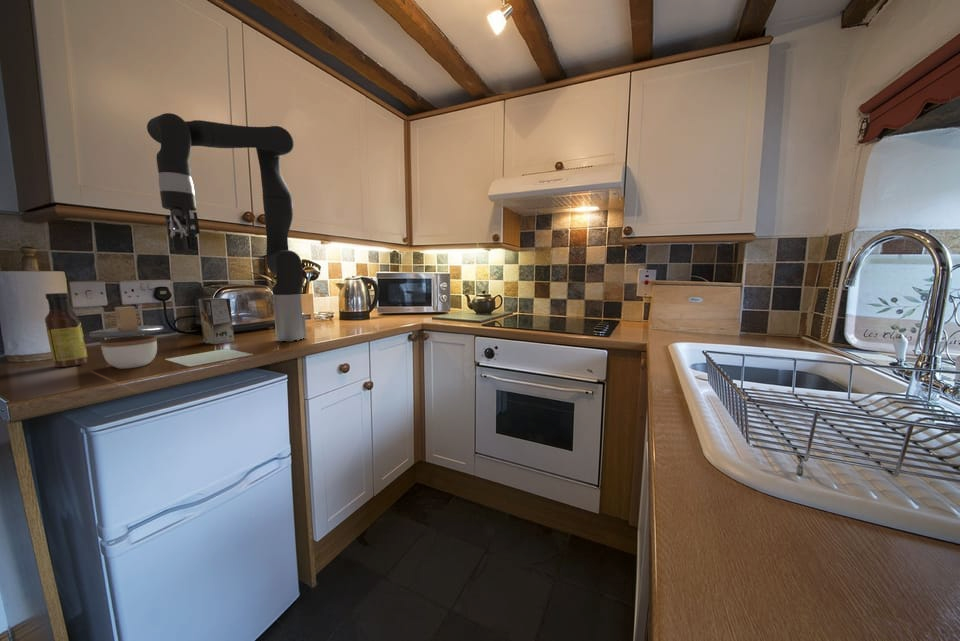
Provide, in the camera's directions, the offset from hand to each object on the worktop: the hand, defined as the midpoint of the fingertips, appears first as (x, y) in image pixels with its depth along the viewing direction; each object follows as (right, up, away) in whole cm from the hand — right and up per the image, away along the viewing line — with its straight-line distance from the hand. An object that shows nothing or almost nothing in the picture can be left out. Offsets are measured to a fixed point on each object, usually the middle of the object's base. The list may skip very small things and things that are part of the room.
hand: (185, 250), depth 101 cm
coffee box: (-10, -28, +26) cm, 40 cm away
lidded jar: (-9, -33, -6) cm, 35 cm away
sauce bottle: (-27, -33, -5) cm, 43 cm away
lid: (-9, -23, -8) cm, 26 cm away
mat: (+5, -31, +3) cm, 32 cm away
